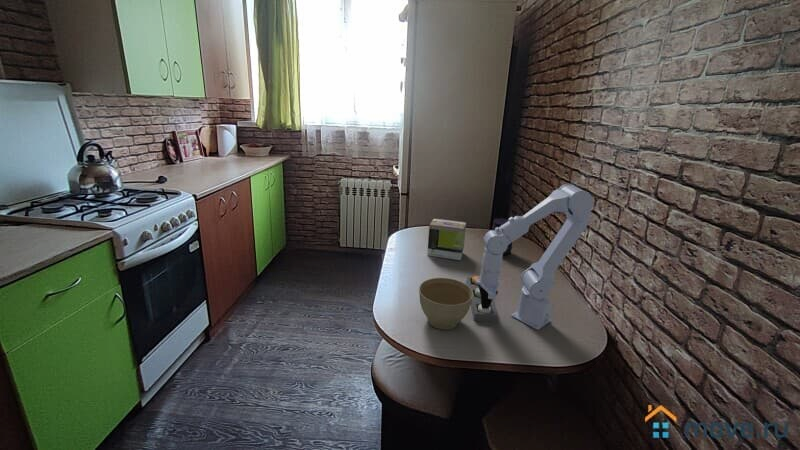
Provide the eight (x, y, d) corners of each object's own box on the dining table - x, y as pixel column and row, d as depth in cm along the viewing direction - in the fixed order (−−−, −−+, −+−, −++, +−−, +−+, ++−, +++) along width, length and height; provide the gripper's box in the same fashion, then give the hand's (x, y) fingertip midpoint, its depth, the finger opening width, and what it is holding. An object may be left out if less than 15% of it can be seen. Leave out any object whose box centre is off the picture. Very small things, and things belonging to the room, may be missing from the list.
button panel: (496, 322, 113) (497, 315, 112) (473, 320, 113) (474, 313, 112) (484, 284, 136) (485, 278, 135) (466, 282, 136) (466, 276, 136)
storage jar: (513, 257, 161) (518, 226, 156) (491, 256, 161) (496, 224, 156) (507, 248, 171) (512, 219, 166) (486, 247, 171) (491, 217, 166)
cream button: (491, 317, 114) (492, 311, 113) (478, 315, 114) (479, 310, 113) (489, 310, 118) (490, 304, 117) (476, 308, 118) (477, 303, 117)
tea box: (463, 252, 163) (467, 221, 159) (460, 261, 154) (464, 229, 149) (430, 247, 167) (433, 217, 162) (426, 255, 158) (429, 224, 153)
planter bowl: (419, 303, 120) (421, 274, 117) (468, 310, 118) (472, 281, 115) (413, 332, 105) (416, 300, 102) (469, 340, 103) (474, 308, 100)
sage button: (487, 299, 122) (488, 294, 121) (475, 298, 122) (476, 293, 121) (485, 293, 126) (486, 288, 125) (474, 292, 126) (474, 287, 125)
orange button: (483, 286, 130) (484, 281, 130) (472, 285, 131) (473, 280, 130) (481, 281, 134) (482, 276, 133) (471, 280, 134) (471, 275, 134)
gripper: (474, 258, 118) (469, 294, 122) (480, 278, 104) (475, 319, 108) (496, 259, 117) (490, 296, 122) (505, 281, 104) (498, 321, 108)
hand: (484, 307), depth 115 cm, fingers closed
